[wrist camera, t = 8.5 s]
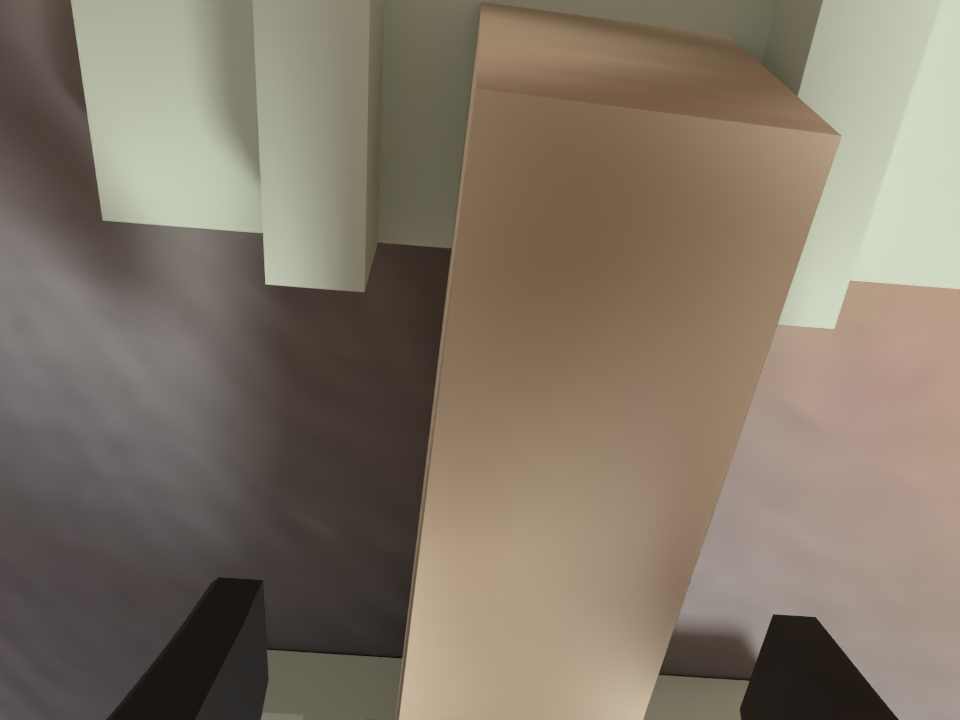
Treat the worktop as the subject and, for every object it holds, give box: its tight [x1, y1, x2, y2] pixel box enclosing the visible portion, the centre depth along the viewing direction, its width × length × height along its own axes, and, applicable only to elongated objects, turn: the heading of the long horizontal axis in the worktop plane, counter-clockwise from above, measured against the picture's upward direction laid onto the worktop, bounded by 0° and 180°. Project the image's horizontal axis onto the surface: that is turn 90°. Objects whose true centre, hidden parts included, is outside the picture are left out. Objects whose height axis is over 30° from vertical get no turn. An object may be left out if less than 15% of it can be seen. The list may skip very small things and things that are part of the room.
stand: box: [71, 0, 960, 720], centre depth 15 cm, size 20×12×3 cm, turn 175°
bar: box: [395, 2, 842, 720], centre depth 13 cm, size 3×16×4 cm, turn 173°
